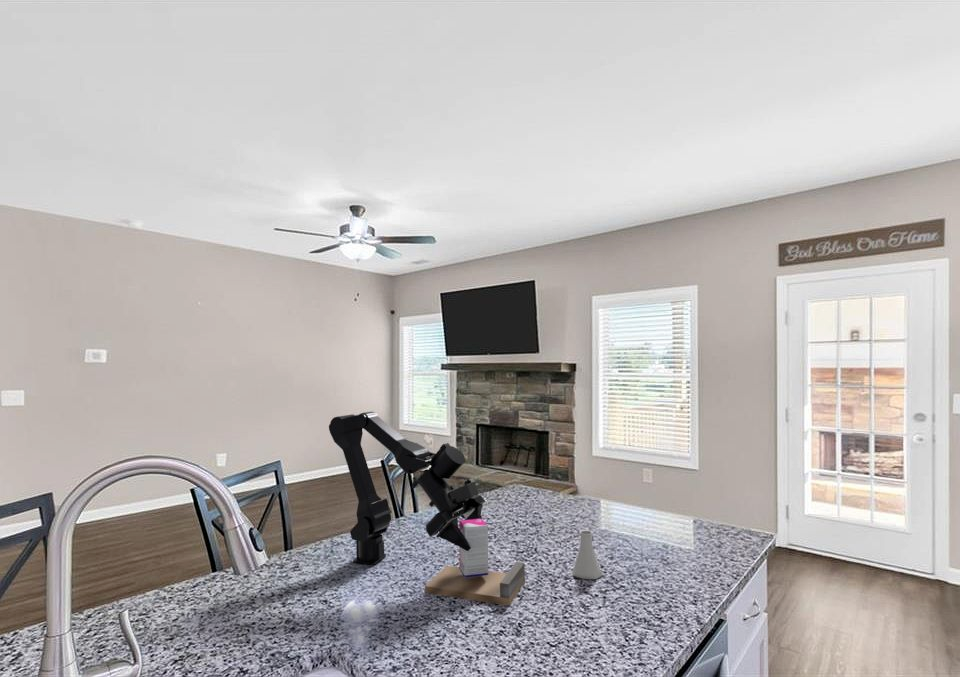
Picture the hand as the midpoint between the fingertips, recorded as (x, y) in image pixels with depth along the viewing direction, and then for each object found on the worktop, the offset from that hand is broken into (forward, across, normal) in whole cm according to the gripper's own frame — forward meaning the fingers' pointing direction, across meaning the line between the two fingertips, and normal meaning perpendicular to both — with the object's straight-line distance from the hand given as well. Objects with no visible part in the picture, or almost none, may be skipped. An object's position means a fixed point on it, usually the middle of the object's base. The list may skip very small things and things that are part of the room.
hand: (478, 543), depth 121 cm
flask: (+21, +17, -8) cm, 28 cm away
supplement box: (+4, 0, +6) cm, 7 cm away
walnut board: (+7, -2, +6) cm, 9 cm away
